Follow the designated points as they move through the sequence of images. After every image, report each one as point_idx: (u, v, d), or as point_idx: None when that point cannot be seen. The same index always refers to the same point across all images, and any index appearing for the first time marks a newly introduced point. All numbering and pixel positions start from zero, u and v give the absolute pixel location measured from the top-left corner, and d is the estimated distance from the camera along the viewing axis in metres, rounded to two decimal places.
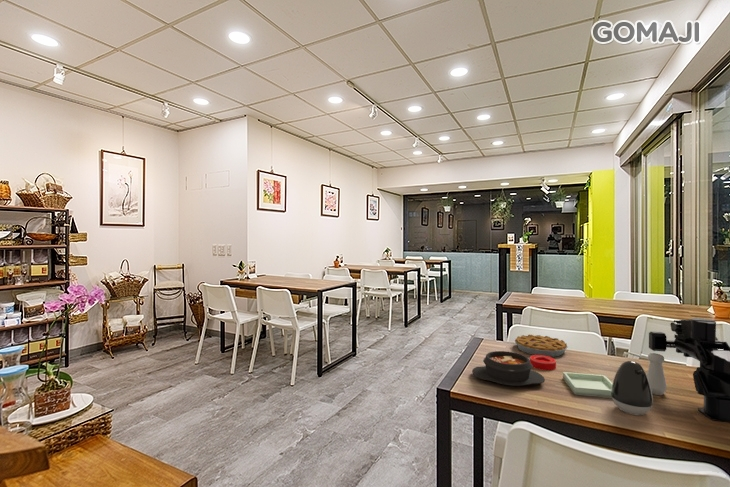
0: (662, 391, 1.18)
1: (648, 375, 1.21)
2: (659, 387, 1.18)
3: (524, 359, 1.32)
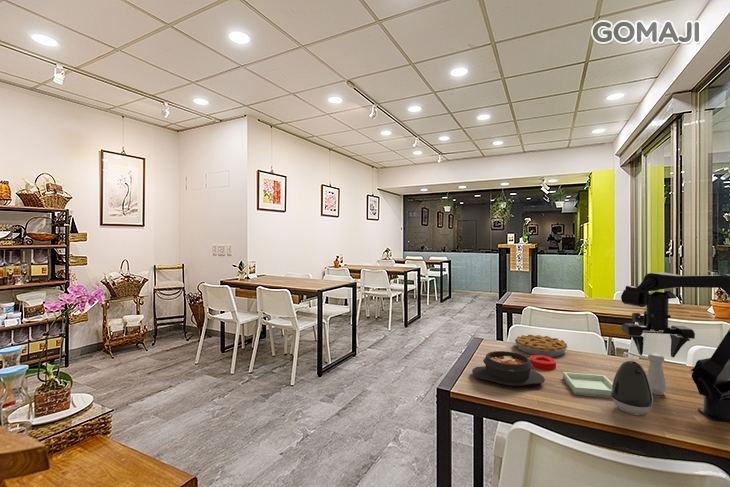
0: (662, 391, 1.18)
1: (648, 375, 1.21)
2: (659, 387, 1.18)
3: (524, 359, 1.32)
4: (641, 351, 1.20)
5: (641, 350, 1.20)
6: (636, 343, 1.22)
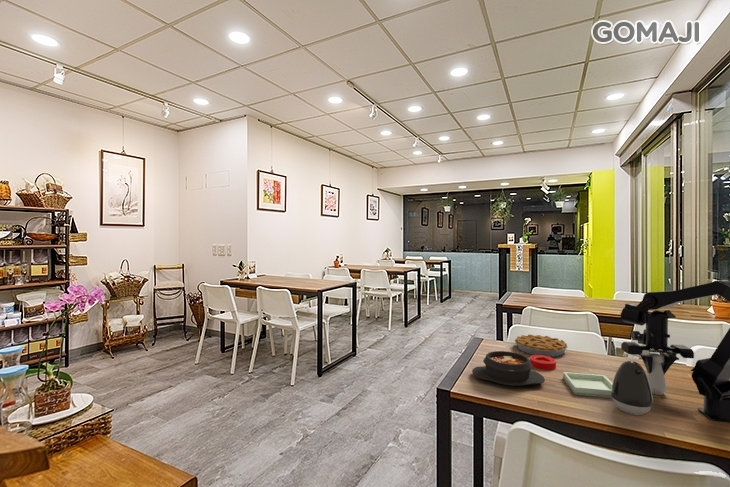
0: (662, 391, 1.18)
1: (648, 375, 1.21)
2: (659, 387, 1.18)
3: (524, 359, 1.32)
4: (650, 371, 1.20)
5: (650, 370, 1.20)
6: (645, 362, 1.21)
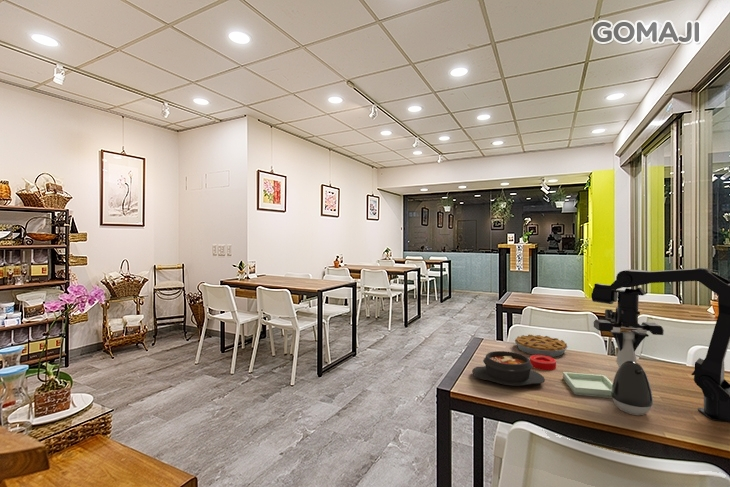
0: None
1: (619, 352, 1.22)
2: None
3: (524, 359, 1.32)
4: (621, 347, 1.22)
5: (621, 346, 1.21)
6: (616, 340, 1.23)
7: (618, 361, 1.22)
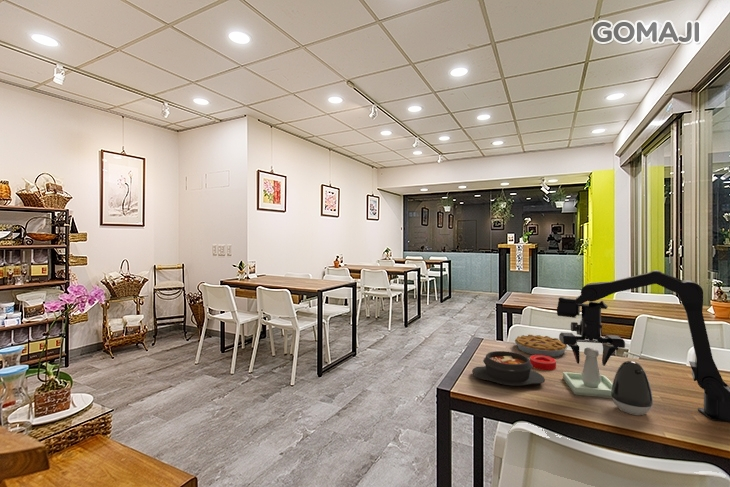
0: (596, 384, 1.22)
1: (584, 369, 1.25)
2: (593, 380, 1.22)
3: (524, 359, 1.32)
4: (578, 360, 1.24)
5: (578, 359, 1.24)
6: (574, 352, 1.25)
7: (583, 378, 1.24)
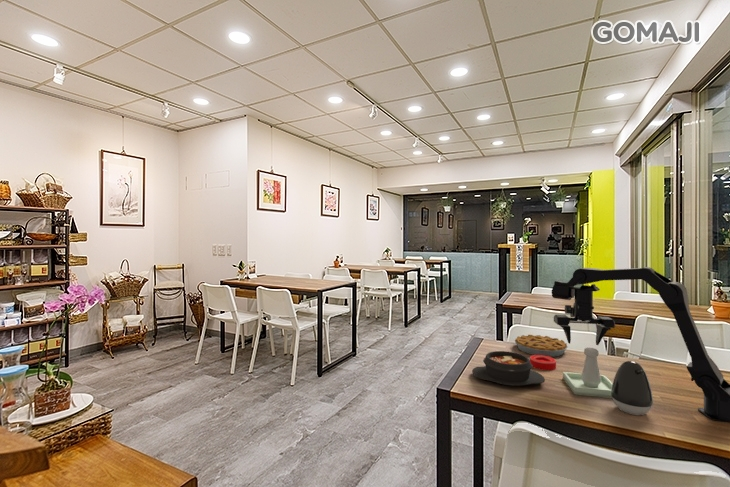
0: (596, 384, 1.22)
1: (584, 369, 1.25)
2: (593, 380, 1.22)
3: (524, 359, 1.32)
4: (569, 339, 1.32)
5: (569, 339, 1.32)
6: (565, 332, 1.33)
7: (583, 378, 1.24)
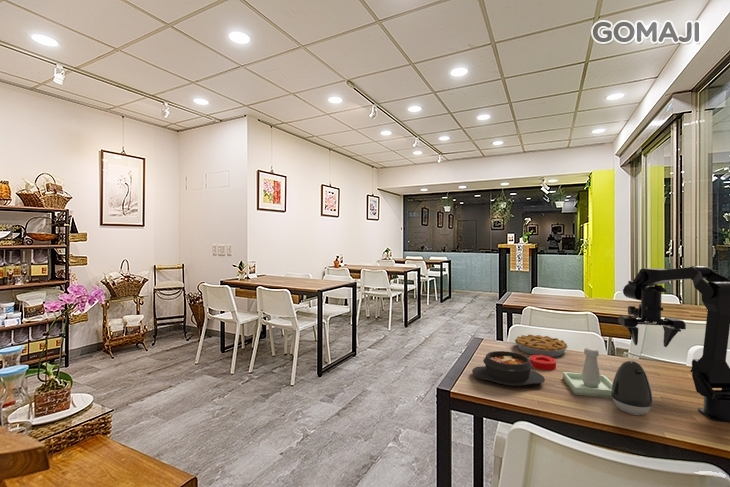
0: (596, 384, 1.22)
1: (584, 369, 1.25)
2: (593, 380, 1.22)
3: (524, 359, 1.32)
4: (636, 341, 1.29)
5: (636, 340, 1.29)
6: (631, 334, 1.31)
7: (583, 378, 1.24)
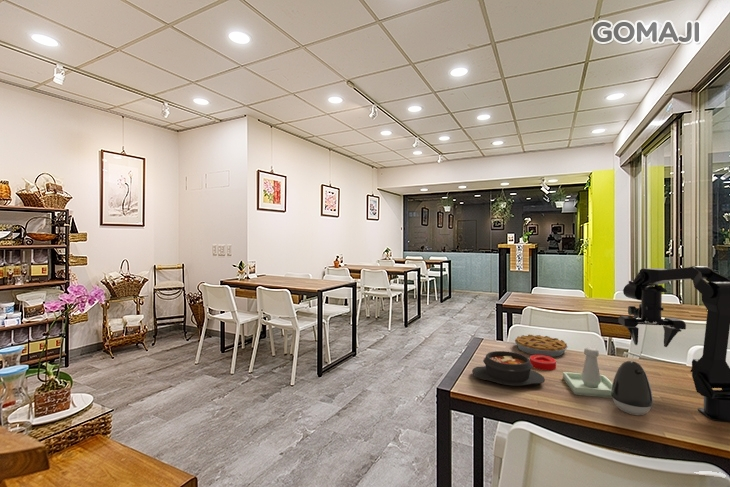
0: (596, 384, 1.22)
1: (584, 369, 1.25)
2: (593, 380, 1.22)
3: (524, 359, 1.32)
4: (636, 341, 1.29)
5: (636, 340, 1.29)
6: (632, 334, 1.31)
7: (583, 378, 1.24)
